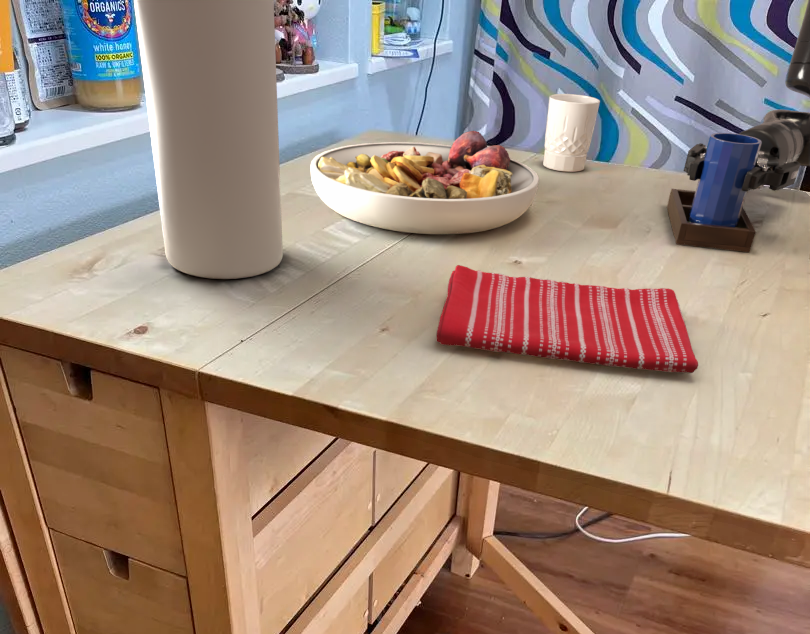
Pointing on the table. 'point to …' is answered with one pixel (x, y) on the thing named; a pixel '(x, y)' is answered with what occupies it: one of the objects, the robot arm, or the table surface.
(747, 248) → the holder
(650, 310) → the dish towel
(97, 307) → the table surface
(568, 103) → the white cup
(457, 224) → the bowl
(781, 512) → the table surface
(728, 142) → the cup
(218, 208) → the cylinder vase
